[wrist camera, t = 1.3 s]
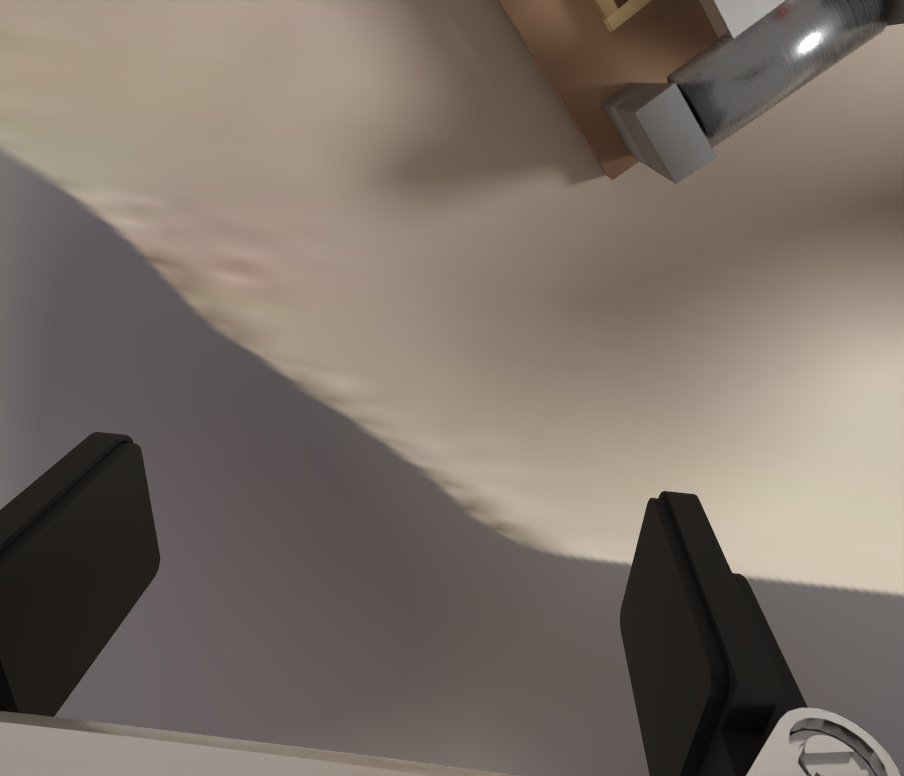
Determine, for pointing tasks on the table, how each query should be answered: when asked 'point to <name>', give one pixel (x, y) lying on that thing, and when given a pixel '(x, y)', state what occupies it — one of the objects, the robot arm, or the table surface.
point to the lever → (768, 55)
